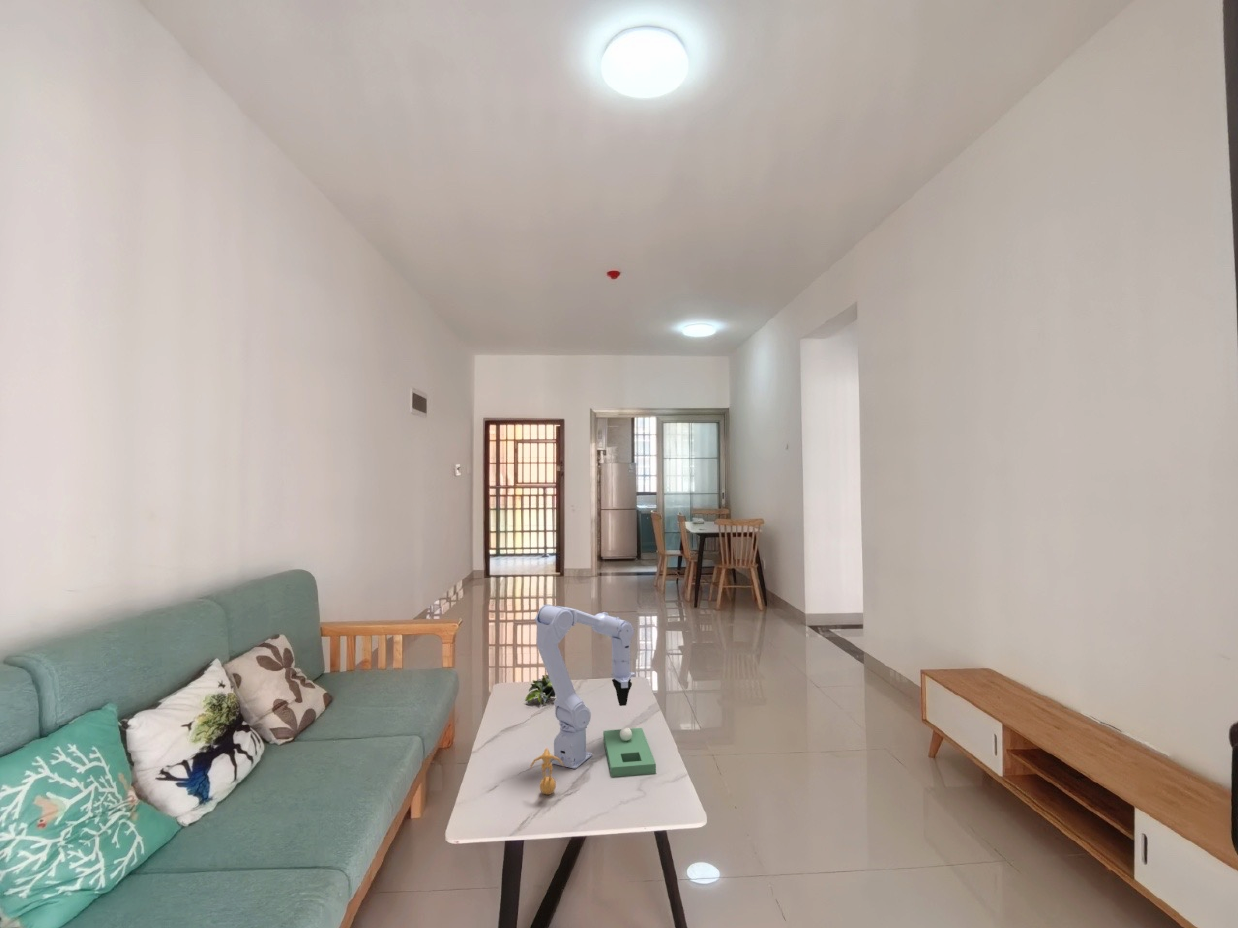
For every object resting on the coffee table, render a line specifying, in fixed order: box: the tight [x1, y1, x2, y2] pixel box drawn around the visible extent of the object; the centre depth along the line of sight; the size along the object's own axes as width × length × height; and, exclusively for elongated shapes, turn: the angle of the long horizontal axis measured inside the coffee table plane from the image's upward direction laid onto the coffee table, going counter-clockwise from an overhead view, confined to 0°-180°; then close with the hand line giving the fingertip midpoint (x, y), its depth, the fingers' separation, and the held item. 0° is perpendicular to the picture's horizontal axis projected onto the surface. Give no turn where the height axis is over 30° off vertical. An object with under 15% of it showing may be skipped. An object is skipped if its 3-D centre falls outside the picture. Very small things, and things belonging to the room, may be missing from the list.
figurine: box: [529, 747, 565, 796], centre depth 149 cm, size 8×6×12 cm
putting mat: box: [602, 727, 657, 778], centre depth 170 cm, size 24×12×2 cm, turn 7°
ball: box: [620, 726, 632, 741], centre depth 174 cm, size 4×4×4 cm
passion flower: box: [524, 674, 556, 707], centre depth 213 cm, size 11×11×12 cm
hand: (622, 704), depth 181 cm, fingers closed
